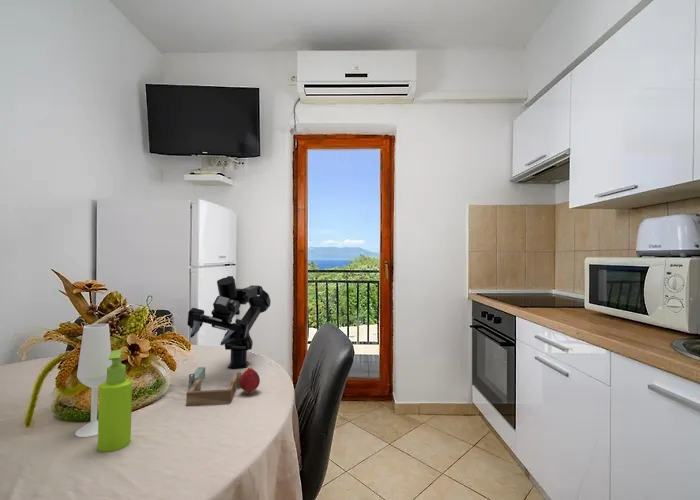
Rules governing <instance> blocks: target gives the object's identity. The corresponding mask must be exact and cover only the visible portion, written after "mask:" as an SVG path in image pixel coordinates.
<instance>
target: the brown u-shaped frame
mask: <svg viewBox="0 0 700 500" xmlns="http://www.w3.org/2000/svg"><path fill="white" fill-rule="evenodd" d="M241 375H242V372H241V371H237V372H236V377H232V378H231V380H230V383H229V385H228V387H226V389H210V390H209V389H207V390H201V389H202V381H201V379H199V380H196V381H195V383H194V384H193V385H192V386H191V388H190V389H189V388H188V390H187V392H186V397H185V398H186V399H185V401H186V402H185V403H186V404H185V405H186V407H195V406H211V405H215V406H216V405H229V404H230V405H231V403H232V400H233V398H234V395H235V394H234V393H236V391H237V389H242V388H241V387H240V384H239V381H240V377H241Z"/></svg>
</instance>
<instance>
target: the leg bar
mask: <svg viewBox="0 0 700 500" xmlns="http://www.w3.org/2000/svg"><path fill="white" fill-rule="evenodd" d="M192 374H195V381H196V380H199V379H201V382H202V381H203V379H204V378H205V377H206V366H198V367H197V368H196V369H195V371H194V372H192Z"/></svg>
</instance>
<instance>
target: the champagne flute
mask: <svg viewBox="0 0 700 500" xmlns="http://www.w3.org/2000/svg"><path fill="white" fill-rule="evenodd" d="M109 325H110V324H109V323H92V324H88V325H84V326H83V330H82V337H81V344H80V351H79V358H78V365H77V366H78V367H77V373H76V377H77V378H76V379H78V381H79V382H80V383H81V384H83V385H84V386H86V387H88V388H91V399H90V403H91V404H90V422H88V423H86V424H84V425H83V426H81V428H79V429H77V430H76V431H75V433H74V434H75V436H77V437H80V438H87V437H88V438H89V437H93V436H98V401H99V385H100V384H102V383H104V382H106V381H107V368H108V367H109V366H110V365H112V360H109V356H110V354H111V352H112V346H111V336H110V335H111V333H110V326H109Z"/></svg>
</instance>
